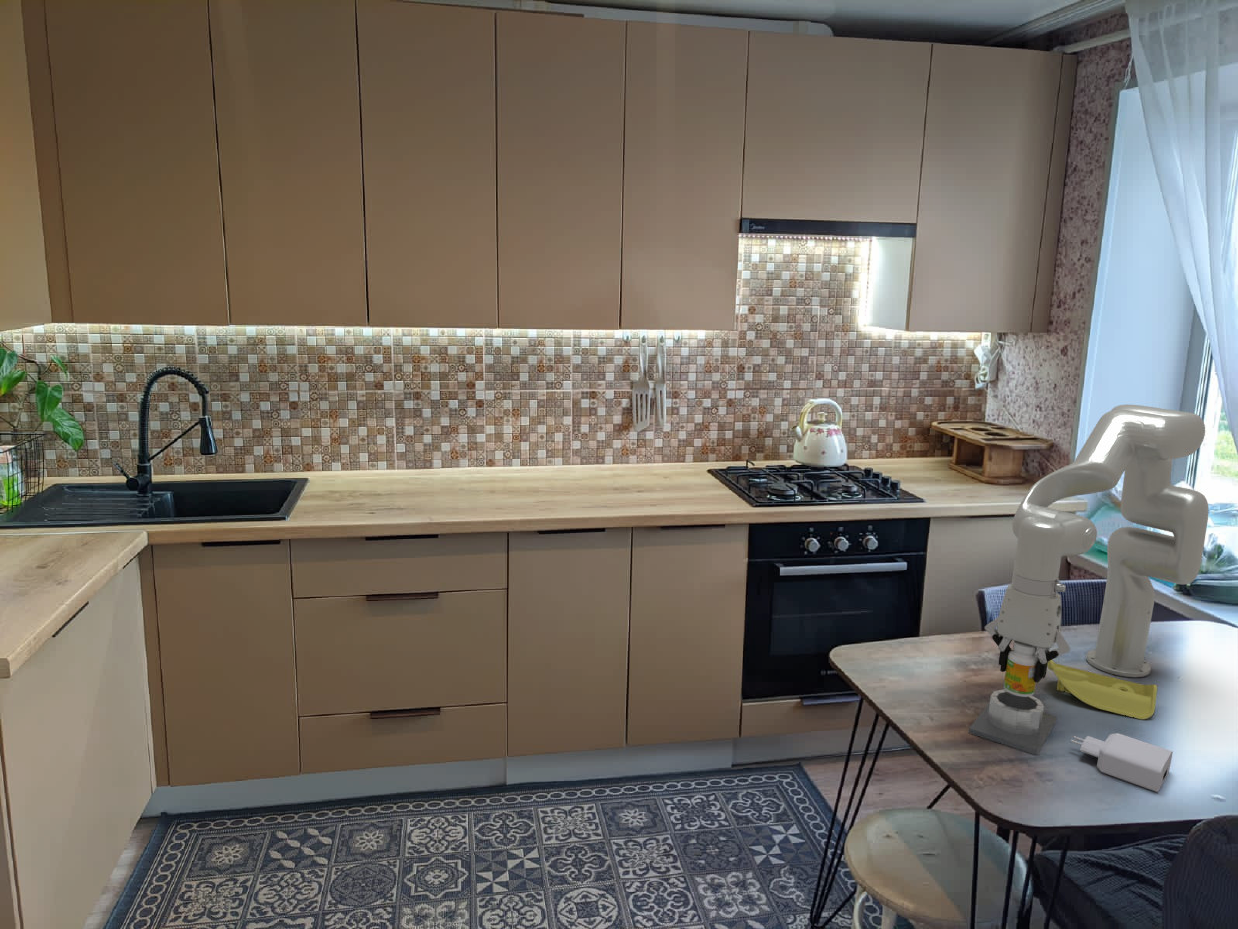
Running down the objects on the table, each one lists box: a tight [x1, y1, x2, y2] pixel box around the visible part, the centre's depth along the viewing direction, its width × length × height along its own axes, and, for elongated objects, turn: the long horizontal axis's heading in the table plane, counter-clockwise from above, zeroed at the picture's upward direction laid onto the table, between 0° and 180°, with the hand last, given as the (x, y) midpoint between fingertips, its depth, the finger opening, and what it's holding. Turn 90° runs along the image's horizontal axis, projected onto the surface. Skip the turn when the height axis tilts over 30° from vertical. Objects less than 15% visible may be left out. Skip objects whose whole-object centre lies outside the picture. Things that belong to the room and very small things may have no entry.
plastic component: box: [1047, 659, 1158, 720], centre depth 184 cm, size 20×7×10 cm
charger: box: [1070, 732, 1173, 793], centre depth 159 cm, size 5×9×15 cm
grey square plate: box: [968, 688, 1058, 756], centre depth 171 cm, size 16×12×6 cm
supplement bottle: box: [1003, 640, 1039, 697], centre depth 169 cm, size 5×5×10 cm
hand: (1021, 673), depth 170 cm, fingers closed on supplement bottle, 5 cm apart
